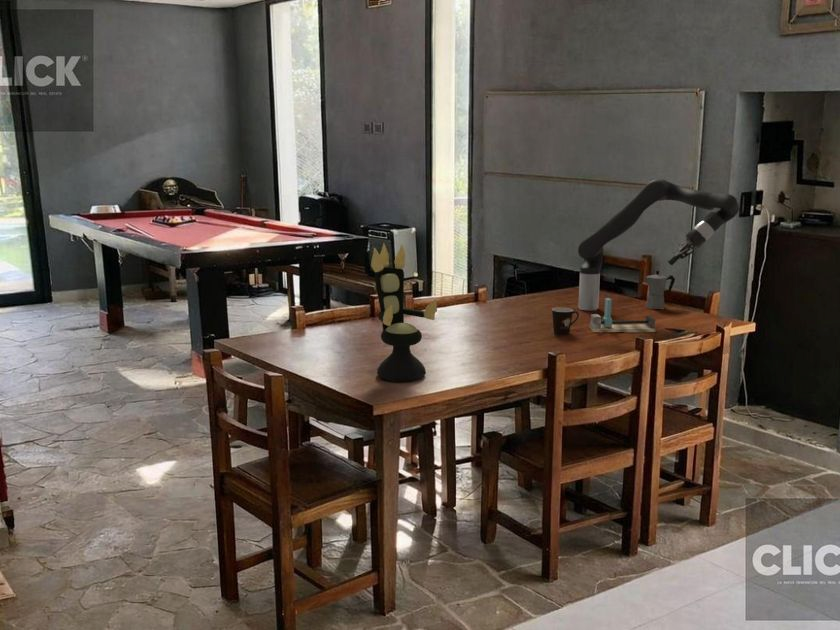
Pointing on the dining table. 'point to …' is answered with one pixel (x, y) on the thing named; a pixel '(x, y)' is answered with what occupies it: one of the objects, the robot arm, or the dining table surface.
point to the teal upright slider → (607, 313)
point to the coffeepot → (657, 290)
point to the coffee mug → (562, 320)
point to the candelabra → (397, 319)
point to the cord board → (646, 327)
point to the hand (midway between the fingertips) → (669, 263)
